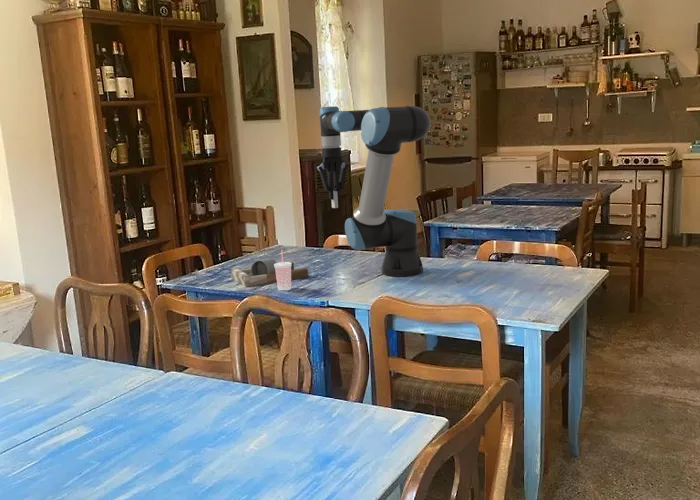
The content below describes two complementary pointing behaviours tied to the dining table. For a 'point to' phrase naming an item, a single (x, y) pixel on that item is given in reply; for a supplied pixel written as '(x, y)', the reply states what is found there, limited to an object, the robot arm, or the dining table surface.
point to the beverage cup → (283, 274)
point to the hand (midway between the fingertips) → (335, 207)
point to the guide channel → (263, 276)
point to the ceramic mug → (263, 267)
